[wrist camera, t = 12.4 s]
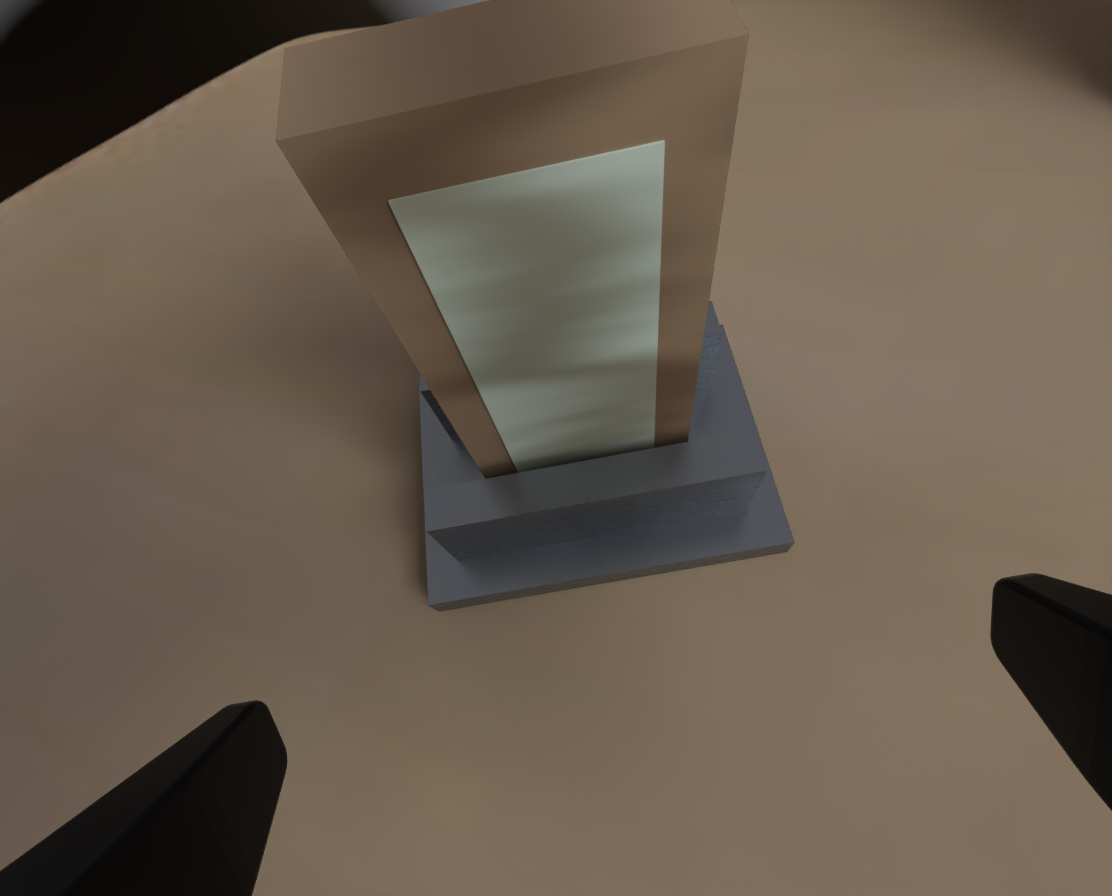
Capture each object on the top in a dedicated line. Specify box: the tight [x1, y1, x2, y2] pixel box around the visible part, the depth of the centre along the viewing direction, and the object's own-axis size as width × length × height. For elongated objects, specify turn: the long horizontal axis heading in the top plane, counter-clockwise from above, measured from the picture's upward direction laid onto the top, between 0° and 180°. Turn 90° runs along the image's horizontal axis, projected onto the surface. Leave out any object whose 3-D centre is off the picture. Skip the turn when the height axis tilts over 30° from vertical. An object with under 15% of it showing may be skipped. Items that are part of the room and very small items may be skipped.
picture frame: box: [276, 0, 749, 479], centre depth 14 cm, size 6×2×13 cm, turn 98°
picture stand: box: [419, 301, 794, 611], centre depth 19 cm, size 11×8×4 cm
